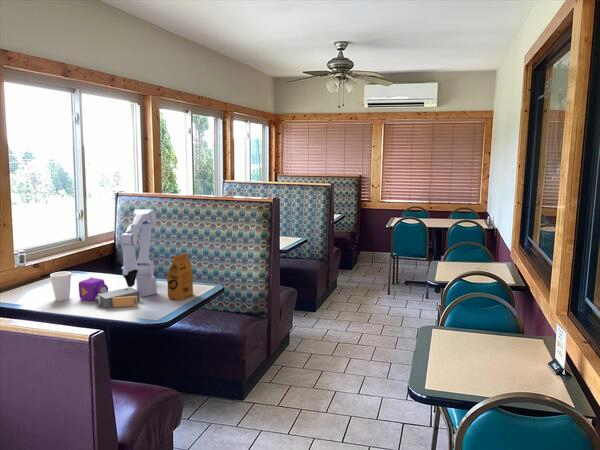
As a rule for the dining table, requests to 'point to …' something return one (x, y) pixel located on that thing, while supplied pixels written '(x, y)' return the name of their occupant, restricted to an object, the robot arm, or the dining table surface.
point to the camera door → (124, 301)
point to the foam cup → (61, 285)
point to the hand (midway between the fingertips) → (131, 285)
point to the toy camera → (91, 288)
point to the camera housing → (106, 297)
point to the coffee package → (180, 278)
